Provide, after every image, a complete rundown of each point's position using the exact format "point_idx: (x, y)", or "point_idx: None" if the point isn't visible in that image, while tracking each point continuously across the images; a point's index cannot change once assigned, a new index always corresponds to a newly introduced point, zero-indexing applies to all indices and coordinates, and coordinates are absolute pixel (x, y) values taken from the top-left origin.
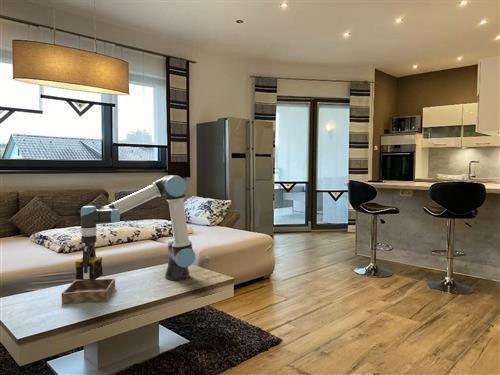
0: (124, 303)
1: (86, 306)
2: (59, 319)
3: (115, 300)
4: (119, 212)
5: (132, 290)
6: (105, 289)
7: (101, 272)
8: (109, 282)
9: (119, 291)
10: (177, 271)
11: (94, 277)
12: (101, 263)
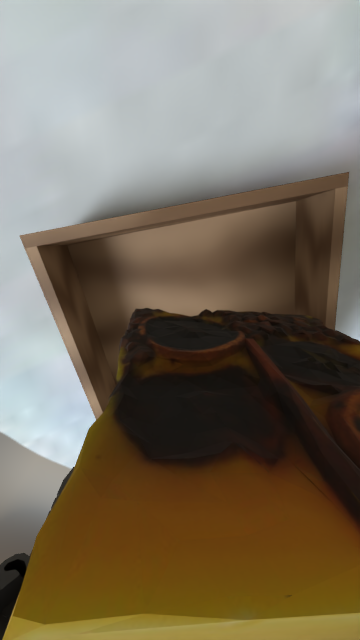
0: (343, 36)
1: (343, 276)
2: None
3: (277, 139)
4: None
5: (77, 72)
6: (123, 276)
7: (155, 322)
8: (61, 274)
9: (114, 180)
10: None
11: (316, 323)
12: (115, 400)
